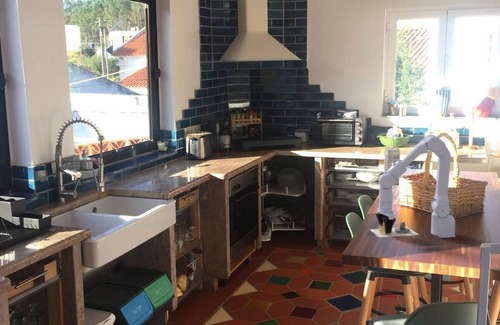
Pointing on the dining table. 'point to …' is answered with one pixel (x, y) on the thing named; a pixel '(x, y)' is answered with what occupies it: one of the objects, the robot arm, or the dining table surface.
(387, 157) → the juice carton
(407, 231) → the assembly board
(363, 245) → the dining table surface
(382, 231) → the brass collar
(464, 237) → the dining table surface
